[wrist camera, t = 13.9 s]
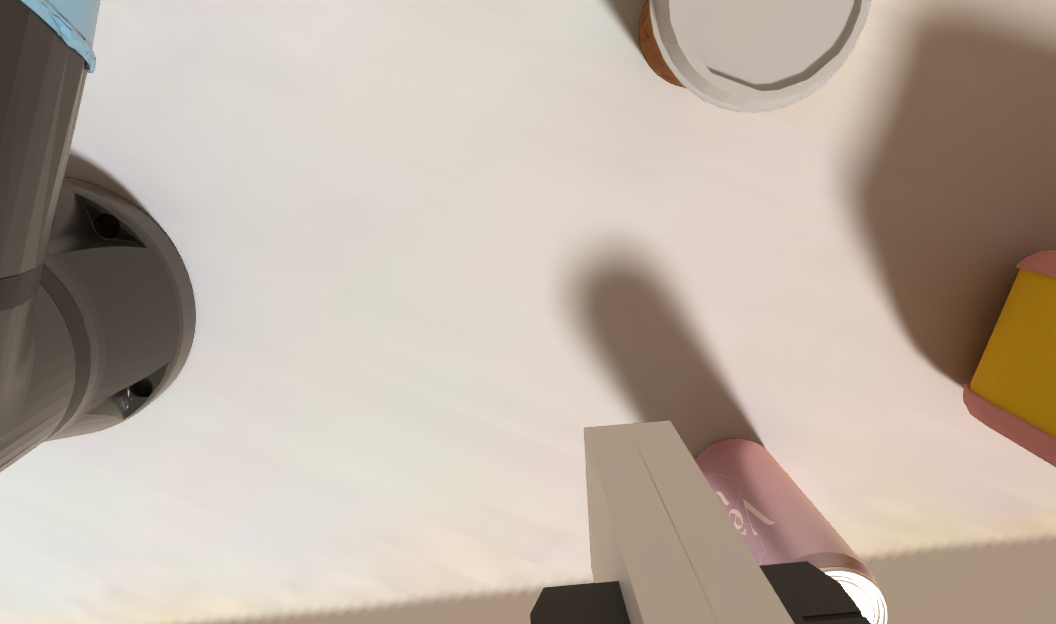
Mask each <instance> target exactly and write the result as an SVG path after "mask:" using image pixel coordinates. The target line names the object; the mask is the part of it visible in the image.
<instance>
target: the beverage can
mask: <svg viewBox="0 0 1056 624" xmlns="http://www.w3.org/2000/svg"><path fill="white" fill-rule="evenodd" d="M695 462H696V463H697V465H698V467H699V468H700V470H701V472H702V473H703V475H704V476H705V478H706V480H707V481H708V483H709V485H710V486H711V488H712V490H713V491H714V493H715V494H716V496H717V498H718V499H719V501H720V503H721V504H722V506H723V508H724V509H725V511H726V512H727V514H728V516H729V517H730V519H731V521H732V522H733V524H734V526H735V527H736V529H737V530H738V532H739V534H740V535H741V537H742V539H743V540H744V542H745V544H746V545H747V547H748V548H749V550H750V552H751V553H752V555H753V557H754V558H755V560H756V561H757V563H758V565H770V564H781V563H792V562H804V561H808V562H809V563H811V564H812V565H814V566H815V567H817V568H818V569H820V570H821V571H823V572H824V573H826V574H827V575H829V576H830V577H832V578H833V579H835V580H836V581H838V582H839V583H841V585H842V586H843V587H844V589H845V590H846V591H847V593H848V594H849V595H850V596H851V598H852V599H853V600H854V602H855V603H856V604H857V606H858V607H859V608H860V610H861V611H862V616H863V617H867V619H868V620H869V621H870V623H871V624H887V618H888V610H887V604H886V601H885V598H884V596H883V593H882V592H881V590H880V589H879V587H878V584H877V582H876V580H875V578H874V576H873V574H872V573H871V571H870V570H869V569H868V568H867V567H866V565H865V564H864V563H863V562H862V561H861V560H860V558H859V557H858V556H857V555H856V554H855V553H854V551H853V550H852V549H851V548H850V547H849V546H848V544H847V543H846V542H845V541H844V540H843V539H842V537H841V536H840V535H839V534H838V533H837V532H836V530H835V529H834V528H833V527H832V526H831V525H830V523H829V522H828V521H827V520H826V519H825V518H824V516H823V515H822V514H821V513H820V512H819V511H818V509H817V508H816V507H815V506H814V505H813V503H812V502H811V501H810V500H809V499H808V498H807V496H806V495H805V494H804V493H803V492H802V491H801V489H800V488H799V487H798V486H797V485H796V484H795V482H794V481H793V480H792V479H791V478H790V477H789V475H788V474H787V473H786V472H785V471H784V470H783V468H782V467H781V466H780V465H779V464H778V463H777V461H776V460H775V459H774V458H773V457H772V456H771V454H770V453H769V452H768V451H767V450H766V449H765V448H764V447H762V446H761V445H759V444H758V443H756V442H753V441H751V440H747V439H740V438H733V439H726V440H722V441H719V442H716V443H714V444H712V445H710V446H709V447H707V448H706V449H705V450H703V451H702V452H701V453H700V454H699V456H698V457H697V458H696V459H695Z"/></svg>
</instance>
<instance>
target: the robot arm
mask: <svg viewBox="0 0 1056 624" xmlns="http://www.w3.org/2000/svg"><path fill="white" fill-rule="evenodd" d="M99 5H100V0H0V472H2V471H3V470H4V469H6V468H7V467H9V466H10V465H12V464H13V463H14V462H16V461H17V460H19V459H20V458H21V457H23V456H24V455H26V454H27V453H29V452H30V451H31V450H33V449H34V448H36V447H37V446H38V445H39V444H41V443H42V442H45V441H51V440H56V439H62V438H67V437H73V436H78V435H84V434H89V433H93V432H97V431H101V430H104V429H107V428H110V427H112V426H114V425H117V424H119V423H121V422H123V421H125V420H127V419H129V418H131V417H132V416H134V415H135V414H137V413H138V412H140V411H141V410H142V409H144V408H145V407H146V406H147V405H149V404H150V403H151V402H152V401H154V400H155V399H156V398H157V397H159V396H160V395H161V394H162V393H163V392H164V391H165V390H166V389H167V388H168V387H169V386H170V385H171V384H172V382H173V381H174V380H175V379H176V377H177V376H178V374H179V373H180V371H181V369H182V368H183V366H184V364H185V362H186V360H187V357H188V355H189V352H190V349H191V346H192V342H193V338H194V332H195V322H196V311H195V300H194V294H193V289H192V285H191V282H190V279H189V276H188V273H187V270H186V268H185V266H184V263H183V261H182V259H181V257H180V256H179V254H178V252H177V250H176V249H175V247H174V246H173V244H172V243H171V241H170V240H169V238H168V237H167V236H166V234H165V233H164V232H163V231H162V230H161V229H160V227H159V226H158V225H157V224H156V223H155V222H154V221H153V220H152V219H151V218H150V217H149V216H147V215H146V214H145V213H144V212H143V211H142V210H140V209H139V208H138V207H136V206H135V205H134V204H132V203H131V202H129V201H128V200H126V199H125V198H123V197H121V196H119V195H118V194H116V193H114V192H112V191H110V190H108V189H105V188H103V187H100V186H98V185H95V184H92V183H89V182H86V181H82V180H78V179H73V178H68V177H64V174H65V170H66V165H67V161H68V156H69V152H70V147H71V143H72V138H73V134H74V129H75V125H76V120H77V116H78V111H79V107H80V102H81V98H82V93H83V89H84V84H85V80H86V75H87V73H93V72H94V69H95V65H96V57H95V54H94V52H93V50H92V46H93V41H94V35H95V29H96V23H97V17H98V11H99ZM584 441H585V460H586V478H587V497H588V515H589V533H590V552H591V568H592V573H593V577H594V582H595V583H590V584H579V585H568V586H557V587H545V588H543V590H542V592H541V594H540V596H539V598H538V600H537V602H536V604H535V606H534V608H533V610H532V612H531V614H530V617H531V624H871V623H870V621H869V620H868V619H867V617H863V616H862V611H861V610H860V608H859V607H858V606H857V604H856V603H855V602H854V600H853V599H852V598H851V596H850V595H849V594H848V593H847V591H846V590H845V589H844V587H843V586H842V585H841V583H839V582H838V581H836V580H835V579H833V578H832V577H830V576H829V575H827V574H826V573H824V572H823V571H821V570H820V569H818V568H817V567H815V566H814V565H812V564H811V563H809V562H808V561H804V562H792V563H781V564H770V565H758V563H757V561H756V560H755V558H754V557H753V555H752V553H751V552H750V550H749V548H748V547H747V545H746V544H745V542H744V540H743V539H742V537H741V535H740V534H739V532H738V530H737V529H736V527H735V526H734V524H733V522H732V521H731V519H730V517H729V516H728V514H727V512H726V511H725V509H724V508H723V506H722V504H721V503H720V501H719V499H718V498H717V496H716V494H715V493H714V491H713V490H712V488H711V486H710V485H709V483H708V481H707V480H706V478H705V476H704V475H703V473H702V472H701V470H700V468H699V467H698V465H697V463H696V462H695V460H694V459H693V457H692V455H691V454H690V452H689V450H688V449H687V447H686V445H685V444H684V442H683V441H682V439H681V437H680V436H679V434H678V432H677V431H676V429H675V427H674V426H673V424H672V423H671V421H658V422H646V423H634V424H622V425H610V426H598V427H586V428H584Z"/></svg>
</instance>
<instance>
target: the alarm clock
mask: <svg viewBox="0 0 1056 624" xmlns="http://www.w3.org/2000/svg"><path fill="white" fill-rule="evenodd" d="M1016 268H1019V269H1020V270H1019V272H1018V274H1017V277H1016V279H1015V281H1014V284H1013V286H1012V288H1011V291H1010V293H1009V295H1008V298H1007V300H1006V302H1005V304H1004V307H1003V309H1002V311H1001V314H1000V316H999V318H998V321H997V323H996V325H995V328H994V330H993V332H992V335H991V337H990V339H989V341H988V344H987V346H986V348H985V351H984V353H983V355H982V358H981V360H980V362H979V365H978V367H977V369H976V372H975V374H974V376H973V379H972V381H971V383H965V384H964V390H963V401H964V403H965V405H966V407H967V409H968V410H969V412H970V414H971V415H973V416H974V417H975V418H977V419H978V420H979V421H981V422H982V423H984V424H985V425H986V426H988V427H990V428H991V429H993V430H995V431H996V432H998V433H1000V434H1001V435H1003V436H1005V437H1006V438H1008V439H1010V440H1011V441H1013V442H1015V443H1016V444H1018V445H1020V446H1021V447H1023V448H1025V449H1026V450H1028V451H1030V452H1031V453H1033V454H1035V455H1036V456H1038V457H1040V458H1041V459H1043V460H1045V461H1046V462H1048V463H1050V464H1051V465H1053V466H1055V467H1056V250H1042V251H1039V252H1037V253H1034V254H1032V255H1029V256H1027V257H1025V258H1024V259H1023V260H1022V261H1020V262H1019V263H1018V264H1017V265H1016Z"/></svg>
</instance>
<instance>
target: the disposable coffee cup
mask: <svg viewBox="0 0 1056 624" xmlns="http://www.w3.org/2000/svg"><path fill="white" fill-rule="evenodd" d="M870 2H871V0H647V2H646V4H645V6H644V9H643V11H642V14H641V18H640V23H639V40H640V46H641V49H642V52H643V55H644V57H645V59H646V61H647V63H648V64H649V66H650V67H651V68H652V70H653V71H654V72H655V73H656V74H657V75H658V76H660V77H661V78H663V79H664V80H666V81H667V82H669V83H671V84H674V85H676V86H680V87H684V88H687V89H688V90H690V91H691V92H692V93H694V94H695V95H697V96H698V97H700V98H701V99H702V100H704V101H706V102H709V103H711V104H713V105H716V106H718V107H720V108H724V109H728V110H732V111H736V112H749V113H756V112H767V111H772V110H776V109H780V108H784V107H788V106H790V105H792V104H794V103H796V102H798V101H800V100H802V99H805V98H806V97H808V96H809V95H811V94H812V93H814V92H815V91H816V90H818V89H819V88H821V87H822V86H824V85H825V84H826V83H827V82H828V80H829V79H830V78H831V77H832V76H833V75H834V74H835V73H836V72H837V71H838V70H839V69H840V68H841V67H842V65H843V64H844V62H845V61H846V59H847V57H848V56H849V54H850V53H851V51H852V50H853V48H854V46H855V44H856V42H857V40H858V38H859V36H860V34H861V32H862V30H863V28H864V25H865V22H866V19H867V16H868V13H869V8H870Z"/></svg>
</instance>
